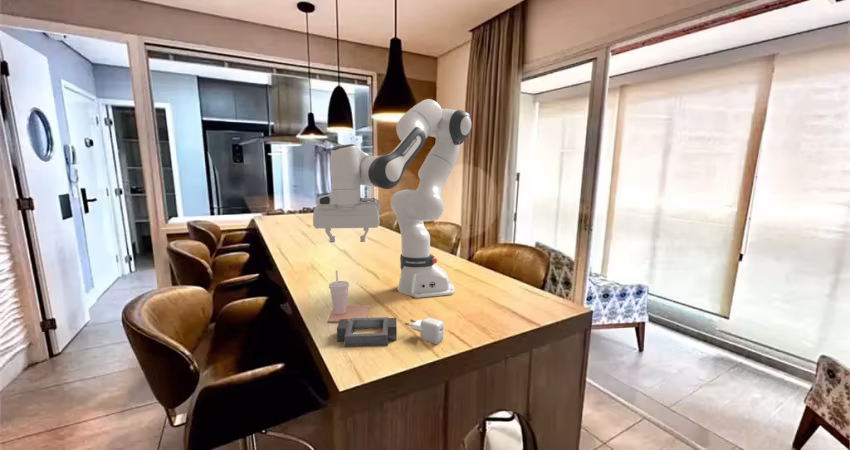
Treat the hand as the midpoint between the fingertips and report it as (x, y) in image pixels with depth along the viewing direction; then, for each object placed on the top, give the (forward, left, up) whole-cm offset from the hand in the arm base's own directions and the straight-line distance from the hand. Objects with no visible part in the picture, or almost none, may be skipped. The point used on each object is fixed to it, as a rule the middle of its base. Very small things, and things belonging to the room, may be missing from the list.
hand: (347, 241), depth 113 cm
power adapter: (-23, +17, -25) cm, 38 cm away
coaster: (0, 0, -24) cm, 24 cm away
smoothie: (+3, 0, -24) cm, 24 cm away
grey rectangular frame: (-7, +15, -24) cm, 29 cm away
